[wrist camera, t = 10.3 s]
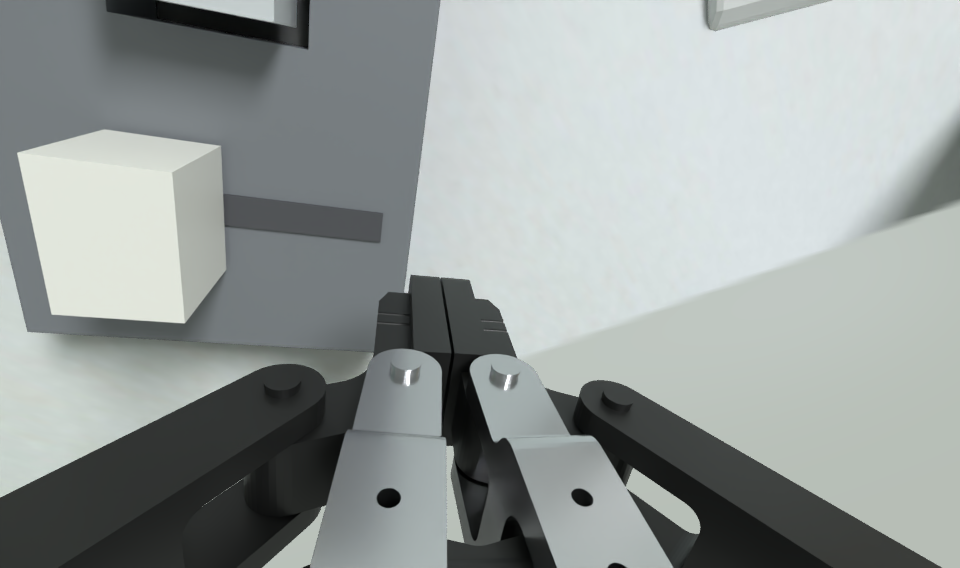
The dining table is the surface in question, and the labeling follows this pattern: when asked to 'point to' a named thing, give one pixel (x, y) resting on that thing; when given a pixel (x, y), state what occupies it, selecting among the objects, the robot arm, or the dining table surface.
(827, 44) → the dining table surface
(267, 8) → the grey button
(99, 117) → the panel
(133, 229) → the cream slider
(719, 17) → the light switch
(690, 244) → the dining table surface
